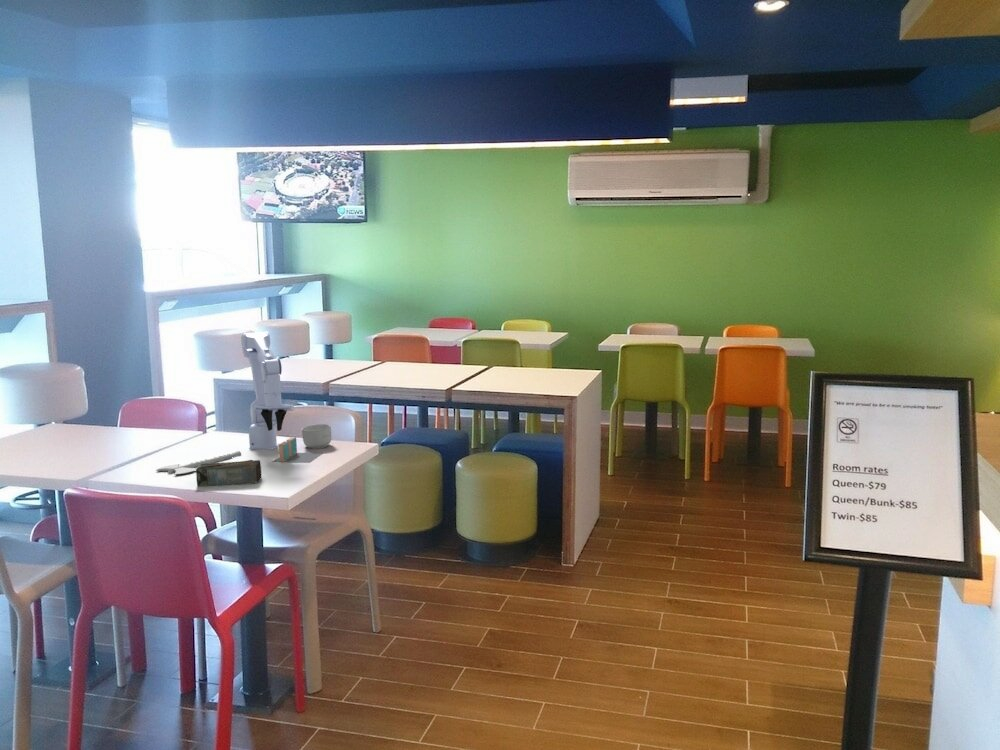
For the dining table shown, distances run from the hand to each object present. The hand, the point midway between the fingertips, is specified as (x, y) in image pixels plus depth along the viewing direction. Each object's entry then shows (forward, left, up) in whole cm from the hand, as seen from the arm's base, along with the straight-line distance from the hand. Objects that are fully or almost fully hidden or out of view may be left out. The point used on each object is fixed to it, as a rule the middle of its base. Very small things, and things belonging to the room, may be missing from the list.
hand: (274, 430), depth 305 cm
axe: (-21, -14, -10) cm, 27 cm away
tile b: (+6, -7, -9) cm, 13 cm away
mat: (+10, -3, -9) cm, 14 cm away
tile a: (+6, 0, -9) cm, 11 cm away
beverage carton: (-1, -35, -10) cm, 36 cm away
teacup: (+10, +16, -10) cm, 21 cm away
